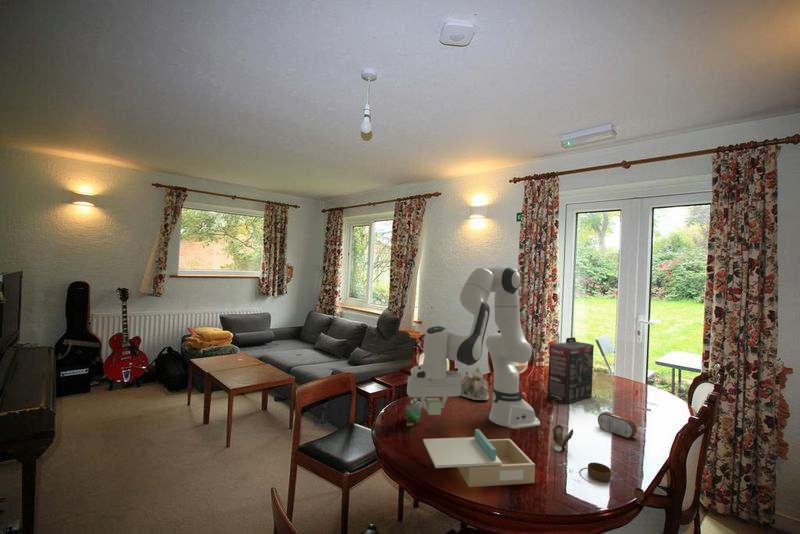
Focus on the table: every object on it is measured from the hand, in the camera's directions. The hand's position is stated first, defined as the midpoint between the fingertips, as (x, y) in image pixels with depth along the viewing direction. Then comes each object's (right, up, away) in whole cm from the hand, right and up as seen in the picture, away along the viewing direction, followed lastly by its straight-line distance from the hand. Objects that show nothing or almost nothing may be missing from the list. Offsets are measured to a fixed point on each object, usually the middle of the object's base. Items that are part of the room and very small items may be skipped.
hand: (433, 407), depth 139 cm
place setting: (+53, -19, -19) cm, 60 cm away
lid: (+8, -10, -14) cm, 19 cm away
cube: (0, -2, 0) cm, 2 cm away
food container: (-6, -17, +25) cm, 31 cm away
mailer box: (+18, -17, -12) cm, 28 cm away
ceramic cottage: (+27, -18, +63) cm, 71 cm away
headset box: (+82, -20, +68) cm, 108 cm away
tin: (+81, -20, +22) cm, 86 cm away
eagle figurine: (+50, -19, +5) cm, 54 cm away
